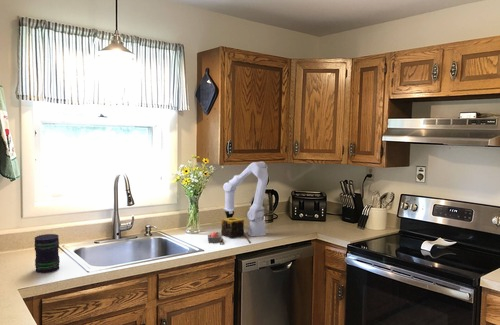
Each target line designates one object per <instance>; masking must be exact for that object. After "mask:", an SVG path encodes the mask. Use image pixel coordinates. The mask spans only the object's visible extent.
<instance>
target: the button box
mask: <svg viewBox="0 0 500 325" xmlns="http://www.w3.org/2000/svg"><path fill="white" fill-rule="evenodd" d="M217 235H218V237H211V234H207V242H208V244H217V243H218V244H220V243H222V241H221V237H222V236H221V237H220V235H221V234H220V235H219V234H217Z"/></svg>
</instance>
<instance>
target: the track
mask: <svg viewBox="0 0 500 325" xmlns="http://www.w3.org/2000/svg"><path fill="white" fill-rule="evenodd" d="M215 233H217V234H219V235H220V237H221V243H219V245H220V246H221V245H225V242H224V239H223V237H222V235H221V232H215ZM244 237H245V240H247V242H248V243H249V244H251V243H252V242H251V240H250V238H249V237H248V236H247V234H246V233H245V232H244Z"/></svg>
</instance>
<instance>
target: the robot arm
mask: <svg viewBox="0 0 500 325" xmlns="http://www.w3.org/2000/svg"><path fill="white" fill-rule="evenodd" d="M251 174H253V175H254V176H255V177H257V178H256V179H257V184H256V189H255V194H254V198H253V203H252V204H251V206H250V207H249V210H248V211H247V218H248V221H249V231H248V232H247V234H248V235H249V237H264V236H267V234H266V226H267V225H266V220H265V219H263V217H264V216H265V211H264V210H265V207H264V206H263V203H264V199H265V194H266V188H267V185H268V180H269V174H268V165H267V164H266V163H265V162H264V161H263V160H262V161H257V162H255V161H254V162H251V163H250V164H248V166H247V167H246V168H245V169H244V170H243V171H242V172H241V173H240V174H235V175H233V178H231V179H229V180H228V182H225V183H224V184H223V187H222V188H223V191H224V208H222V210H224V214H225V216H226V217H225V218H231V217H234V215H235V192H236V189H237V188H238V186H240V185H241V184H242V183H243V182H244V179H245V178H246V177H248V176H249V175H251Z"/></svg>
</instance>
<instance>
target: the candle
mask: <svg viewBox="0 0 500 325" xmlns="http://www.w3.org/2000/svg"><path fill="white" fill-rule="evenodd" d="M220 230H221V231H220V235H221V237H222V236H223V237H224V238H228V239H235V238H240V237H245V235H244V233H245V220H244V219H243V218H239V217H235V216H233V217H231V218H227V217H225V218H221V229H220Z"/></svg>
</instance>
